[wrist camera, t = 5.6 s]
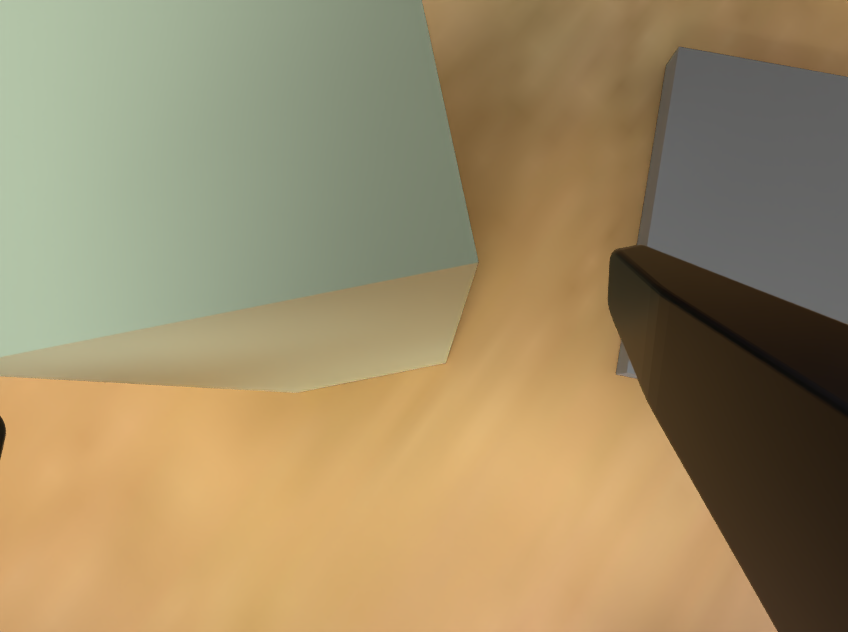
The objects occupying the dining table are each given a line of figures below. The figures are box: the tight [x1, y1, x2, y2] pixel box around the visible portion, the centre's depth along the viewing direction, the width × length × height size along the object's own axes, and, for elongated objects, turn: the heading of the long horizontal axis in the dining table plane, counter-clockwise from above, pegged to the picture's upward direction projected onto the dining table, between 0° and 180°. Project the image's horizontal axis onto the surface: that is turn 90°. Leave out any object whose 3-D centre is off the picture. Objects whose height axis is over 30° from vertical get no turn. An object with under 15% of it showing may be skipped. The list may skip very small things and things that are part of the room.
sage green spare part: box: [0, 0, 479, 393], centre depth 11 cm, size 4×4×13 cm
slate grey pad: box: [616, 47, 848, 379], centre depth 17 cm, size 10×10×1 cm
